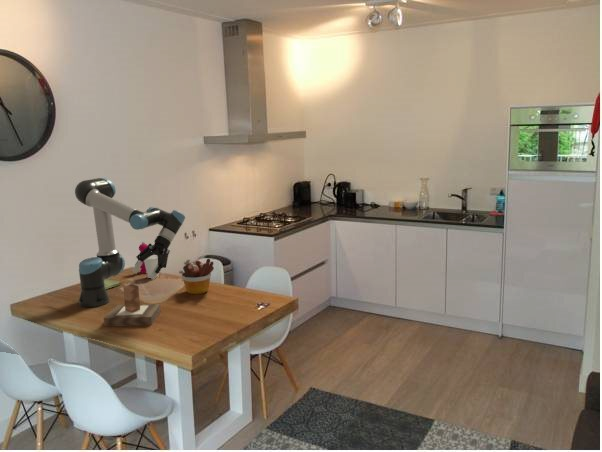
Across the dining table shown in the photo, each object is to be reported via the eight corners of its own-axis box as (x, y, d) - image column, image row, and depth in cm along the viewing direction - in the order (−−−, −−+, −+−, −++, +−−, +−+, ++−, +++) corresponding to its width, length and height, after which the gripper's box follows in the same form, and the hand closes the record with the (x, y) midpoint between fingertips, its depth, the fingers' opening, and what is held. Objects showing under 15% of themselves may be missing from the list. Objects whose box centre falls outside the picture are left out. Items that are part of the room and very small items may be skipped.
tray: (104, 326, 247) (103, 317, 246) (116, 312, 264) (115, 304, 264) (151, 324, 247) (151, 316, 246) (160, 311, 265) (160, 303, 264)
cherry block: (131, 312, 252) (129, 288, 249) (125, 310, 255) (123, 286, 252) (140, 309, 255) (138, 285, 253) (134, 307, 259) (132, 284, 256)
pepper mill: (141, 270, 341) (138, 240, 337) (152, 270, 342) (150, 240, 338) (138, 273, 334) (136, 243, 330) (150, 273, 335) (147, 242, 331)
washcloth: (105, 291, 301) (105, 286, 300) (83, 287, 309) (83, 282, 308) (122, 285, 312) (122, 280, 312) (101, 281, 320) (100, 276, 319)
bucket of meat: (174, 293, 294) (172, 258, 290) (195, 285, 308) (193, 252, 304) (202, 298, 284) (200, 262, 280) (221, 289, 298) (220, 255, 294)
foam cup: (146, 280, 319) (145, 259, 317) (143, 276, 327) (142, 256, 325) (162, 278, 323) (161, 257, 321) (159, 274, 332) (157, 254, 329)
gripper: (185, 247, 261) (164, 284, 254) (153, 238, 275) (131, 273, 268) (176, 239, 256) (154, 277, 248) (144, 230, 270) (121, 266, 262)
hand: (142, 275), depth 258 cm, fingers open, 13 cm apart
